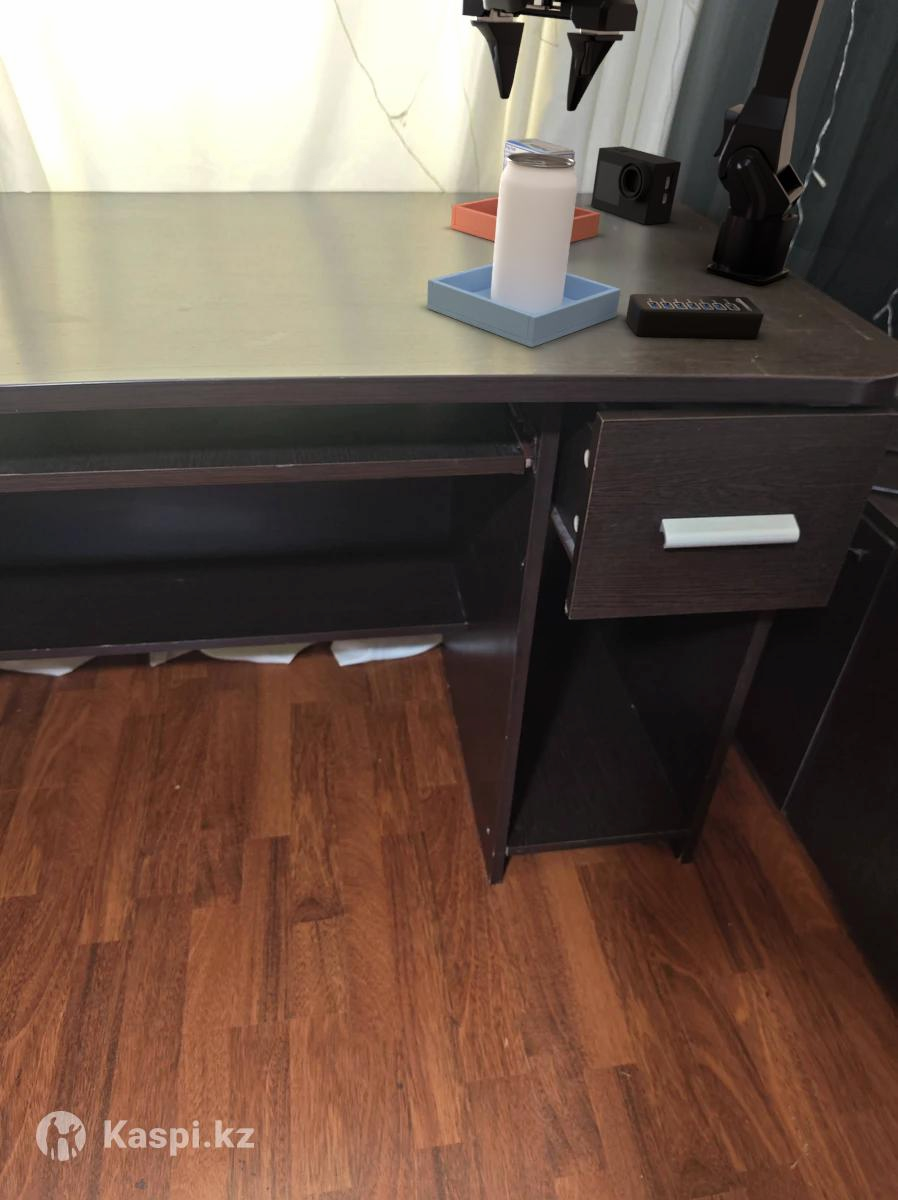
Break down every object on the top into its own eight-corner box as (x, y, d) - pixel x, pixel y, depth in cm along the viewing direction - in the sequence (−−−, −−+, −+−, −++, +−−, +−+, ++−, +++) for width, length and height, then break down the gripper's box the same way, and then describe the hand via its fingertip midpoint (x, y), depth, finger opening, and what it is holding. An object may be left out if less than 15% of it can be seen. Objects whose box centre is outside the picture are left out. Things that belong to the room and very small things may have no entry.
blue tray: (616, 316, 77) (621, 288, 76) (531, 347, 70) (535, 317, 69) (514, 283, 84) (516, 256, 82) (426, 308, 77) (427, 279, 75)
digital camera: (582, 206, 111) (590, 147, 107) (613, 203, 114) (622, 145, 110) (637, 226, 105) (648, 163, 100) (669, 222, 107) (681, 160, 103)
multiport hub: (624, 318, 77) (629, 293, 76) (741, 321, 78) (747, 296, 77) (636, 336, 74) (641, 309, 72) (758, 339, 75) (766, 313, 73)
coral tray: (597, 235, 100) (600, 213, 99) (531, 252, 93) (534, 228, 91) (518, 214, 106) (520, 192, 105) (450, 228, 99) (451, 205, 98)
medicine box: (566, 234, 98) (577, 150, 93) (534, 237, 96) (544, 152, 91) (527, 217, 103) (536, 137, 98) (497, 220, 101) (503, 138, 96)
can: (557, 322, 74) (577, 170, 67) (484, 313, 75) (495, 162, 67) (564, 299, 79) (583, 156, 72) (495, 291, 80) (507, 148, 73)
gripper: (428, -89, 82) (422, 97, 92) (583, -84, 73) (559, 123, 82) (503, -81, 89) (491, 91, 99) (654, -76, 79) (624, 115, 89)
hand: (536, 104), depth 92 cm, fingers open, 9 cm apart
